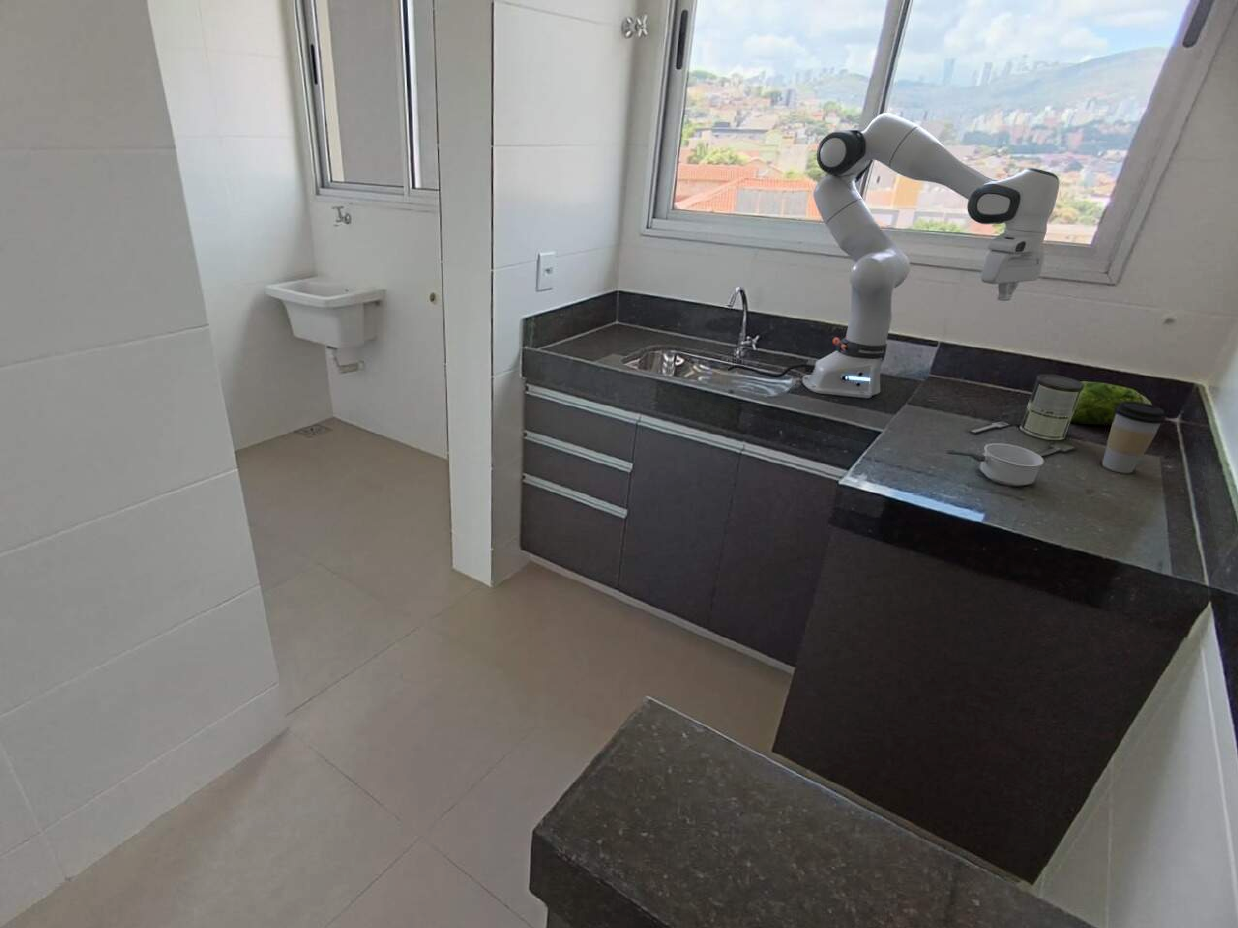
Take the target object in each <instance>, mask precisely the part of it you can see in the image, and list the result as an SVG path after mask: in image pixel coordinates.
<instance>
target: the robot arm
mask: <svg viewBox="0 0 1238 928" xmlns="http://www.w3.org/2000/svg"><path fill="white" fill-rule="evenodd" d="M816 161H817V164H818V166H819V168H820V169H821V170H822V171H823V172H824V173H825V175H824V176H823V178H821V179H820V180H819V181H818V183H816V185H815V186H814V189H813V195H812V196H813V201H814V202H815V206H816V208H817V210H818V213H819V215H820V217H821V219H822V221H823V222H824V224H825V225H826V227H827V229H828V231H829V232H830V234H831V236H832V238H833V239H834V241H835V242H836V243H837V245H838V247H839V249H840V250H842V252H844V253H845V254H846V255H848V256H849V257H850V259H852V260H853V262H855V263H854V265H853V266H852V268H851V270H850V272H849V282H850V285H851V304H850V305H851V306H850V313H849V314H850V315H849V320H848V325H847V330H846V334H845V337H844V338H842V339H841V338H839V337H834V338H833V339H832V344H833V345H835V346H837V347H836V350H835V351H833V352H832V353H829V354H828V355H826V356H824V357H823V358H820V359H818V360H813V359H808V360H807V361H806V363H800V364H799V363H798V364H793V365H790V366H789V367H787V368H786V369H785V370H784V371H783V372H781V373H776V374H775V373H774V374H773V373H771V372H770V373H769V372H765V371H761V370H758V369H756V368H752V367H748V366H744V365H739V364H734V365H732V366H729V367H728V368H727V369H726V371H729V372H730V371H732V370H734V369H741V370H744V371H750V372H752V373H755V374H757V375H761V376H764V377H769V378H782V377H784V376H786V375H787V374H788V373H789V372H790V371H791V370H794V369H798V368H804V372H805V373H810V374H806V375H803V377H802V379H801V382H802V384H803V386H805V387H806V389H808V390H810V391H811V392H813V393H816V394H821V395H822V394H823V395H831V396H832V395H833V396H841V397H852V398H861V399H871V398H872V396H876V395H878V394H880V393H881V374H882V373H881V372H882V364H883V362H884V360H885V357H886V353H887V347H888V344H887V340H888V336H889V331H890V327H891V323H892V319H893V314H892V298H893V291H894V289H896V288H898V287H900V286H901V285H902V284H903V283H904V282H905V280H906V279H907V278H908V276H909V273H910V271H911V263H910V262H911V261H910V260H909V258H908V256H907V254H905V253H904V252H902V251H901V250H900V248H899V247H898V246H897V244H896V243H895V241H893V240H892V239H891V237H890V236H889V235H888V234H887V233H886V232H885V230H884V229H883V228H882V227H881V226H880V224H879V223H878V221H877V220H876V218H875V217H874V215H873V214H872V212H871V211H870V209H869V208H868V206H867V204H866V203H865V201H864V200H863V198H862V196H861V195H860V193H859V191H858V190H857V188H856V183H857V182H859V181H860V179H861V178H862V177H863V175H865V173H866V172H867V171H868V169H869V168H870V167H871V165H872V164H873V163H874V161H877V162H879V163H880V164H883V165H884V166H886V167H887V168H888V169H890V170H892V171H893V172H895V173H896V174H898V175H900V176H903V177H905V178H908V179H911V180H914V181H922V182H928V183H929V182H930V183H934V184H935V183H936V184H939V185H940V186H941V185H942V186H944V187H946V188H948V189H950V190H951V191H953V192H955V193H956V194H958V195H959V196H961V197H963V198H964V199H966V200H967V206H966V207H967V208H966V209H967V213H968V216H969V217H970V218H971V219H972V220H973V221H974V222H975V223H978V224H981V225H1000V224H1002V225H1003V224H1005V226H1004V229H1003V232H1001V233H1000V234H999V235H997V236H996V237H993V238H992V239H990V240H989V241H988V245H987V249H988V250H989V251H988V252H987V254H986V255H985V259H984V262H983V266H982V269H981V273H980V280H981V282H982V283H985V284H990V285H997V289H998V295H997V300H998V301H1001V302H1005V301H1010V300H1011V299H1012V297H1013V294H1014V292H1016V289H1017V288H1018V287H1019V283H1024V282H1034V281H1037V280H1038V279H1039V277H1040V275H1041V272H1042V268H1043V265H1044V260H1045V251H1044V245H1043V243H1044V240H1045V238H1046V234H1047V231H1048V223H1049V219H1050V217H1051V216H1052V214H1053V212H1054V209H1055V205H1056V202H1057V198H1058V195H1059V192H1060V191H1059V189H1060V178H1059V177H1058V175H1056V174H1055V173H1053V172H1050V171H1047V170H1043V169H1039V168H1035V167H1034V168H1032V167H1031V168H1026V169H1025V170H1023V171H1021V172H1019V173H1017V174H1015V175H1012V176H1010V177H1009V176H1008V177H1006V178H1004V179H1000V180H997V179H992V178H990V177H988V176H986V175H984V174H982V173H980V172H979V171H977V170H976V169H973V167H970V166H969V165H967V164H966V163H964V162H962V161H961V160H959V159H958V158H957V157H956V156H954V154H952V153H951V152H950V151H949V150H948V149H947V148H946V147H945V146H944V145H943V144H942V143H941V142H940V141H939V140H938V139H937V138H935V136H933V135H932V134H931V133H930V132H928V131H927V130H926V129H924V128H922V127H921V126H919V125H917V123H914V122H912V121H911V120H908V119H906V118H904V117H901V116H898V115H896V114H892V113H888V112H885V113H881V114H879V115H878V116H876V117H874V118H873V119H872V121H871V122H870V123H869V125H868V126H867V127H866V128H865V129H864V130H863V131H861V130H860V129H840V130H836V131H833V132H831V133H829V134H827V135H826V136H825V137H823V138H822V140H821V141H820V143H819V144H818V146H817V149H816Z"/></svg>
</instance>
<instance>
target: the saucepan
mask: <svg viewBox="0 0 1238 928" xmlns="http://www.w3.org/2000/svg"><path fill="white" fill-rule="evenodd" d="M983 450H984V452H978V453H977V452H974V451H968V450H960V449H959V450H957V449H946V450H945V453H946V454H947V455H954V456H955V455H956V456H961V457H962V456H963V457H970V458H972V459H974V460H975V462H978V463H980V465H979V470H980V471H981V472H982V473H983V474H984V475H985V477H987V478H988V479H990V480H991V481H994V482H996V483H999V484H1003V485H1007V486H1012V487H1023V486H1025V485H1026V486H1027V485H1030V484H1031V485H1032V484H1033V483H1034V482H1035V481H1036V478H1037V475H1038V472H1039V470H1040V469H1039V468H1040V467H1041V465H1043V464H1044V457H1041V456H1039V455H1038V453H1036V452H1034V451H1032V450H1030V449H1027V448H1025V447H1021V446H1019V445H1014V444H1008V443H998V442H997V443H996V442H995V443H988V444H986V445H985V446H984V447H983Z"/></svg>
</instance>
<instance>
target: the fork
mask: <svg viewBox="0 0 1238 928" xmlns="http://www.w3.org/2000/svg"><path fill="white" fill-rule="evenodd" d="M1009 426H1010V423H1007V422H1004V421H999V422H993V423H990V425H987V426H982V427H979V428H976V429H972V430H970V431H969V433H971V434H972V435H977V434H980V433H984V432H987V431H990V430H991V431H992V430H994V429H1003V428H1005V427H1009Z"/></svg>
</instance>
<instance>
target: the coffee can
mask: <svg viewBox="0 0 1238 928" xmlns="http://www.w3.org/2000/svg"><path fill="white" fill-rule="evenodd" d="M1084 386H1085V385H1084V384H1083V383H1082V381H1080V380H1077V379H1074V378H1071V377H1067V376H1063V375H1056V374H1040V375H1037V376H1036V379H1035V383H1034V387H1033V389H1032V392H1031V394H1030V397H1029V400H1028V404H1027V407H1026V410H1025V413H1024V415H1023V419H1022V421H1021V424H1020V426H1019V429H1020V430H1021V431H1022V432H1023V433H1025V434H1027V435H1028V436H1031V437H1035V438H1038V439H1041V440H1048V441H1062V440H1064V439H1065V438H1066V435H1067V431H1068V429H1069V427H1070V424H1071V422H1072V421H1071V419H1072V416H1073V413H1074V411H1075V408H1076V405H1077V403H1078V400H1079V397H1080V395H1081V392H1082V390H1083V388H1084Z"/></svg>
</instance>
